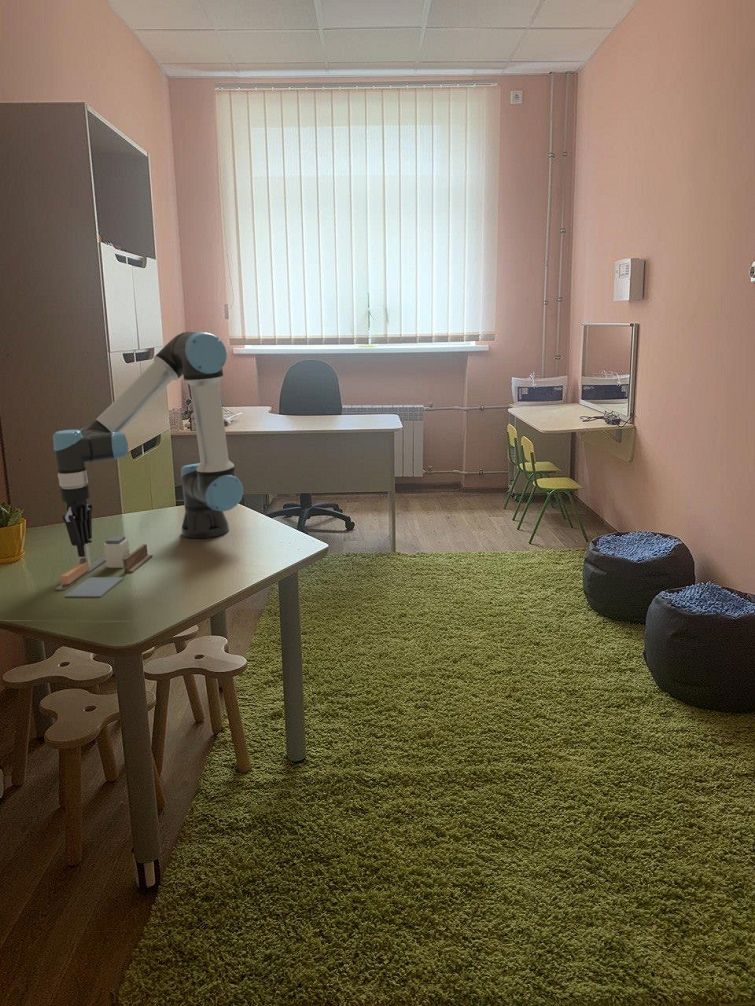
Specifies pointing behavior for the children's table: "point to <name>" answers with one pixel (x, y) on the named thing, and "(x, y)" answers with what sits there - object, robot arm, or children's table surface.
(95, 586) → the felt mat
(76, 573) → the bar
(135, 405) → the robot arm
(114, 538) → the plug block
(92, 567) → the track
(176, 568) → the children's table surface
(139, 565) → the fence
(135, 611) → the children's table surface
